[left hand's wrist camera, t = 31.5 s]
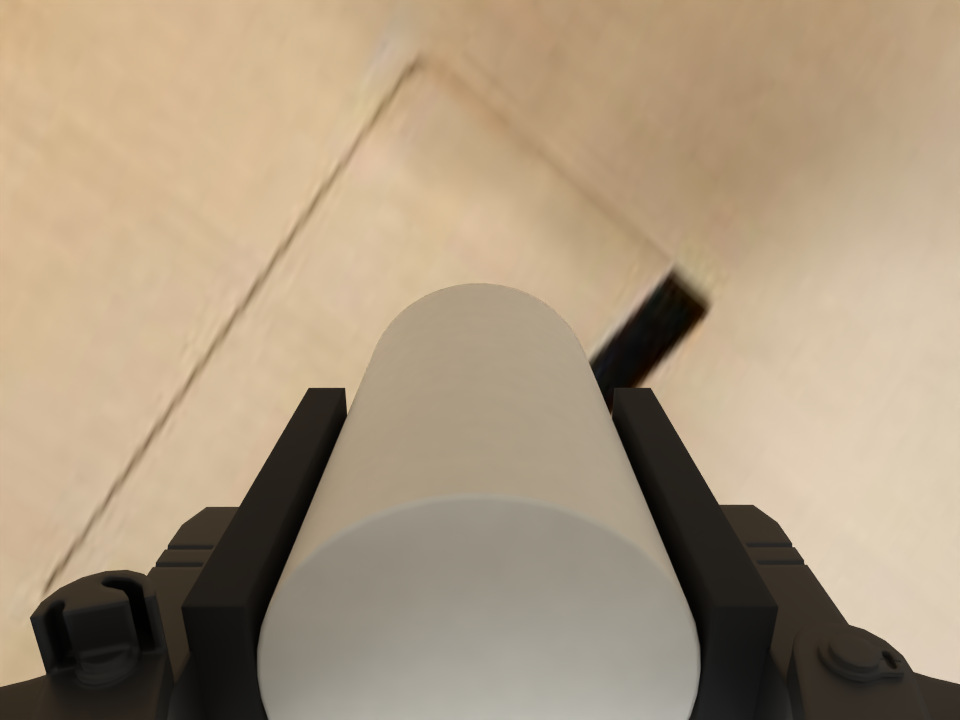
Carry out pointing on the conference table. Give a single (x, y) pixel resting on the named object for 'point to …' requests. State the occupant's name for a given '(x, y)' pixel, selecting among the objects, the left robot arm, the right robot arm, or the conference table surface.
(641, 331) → the conference table surface
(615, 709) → the canister
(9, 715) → the left robot arm
